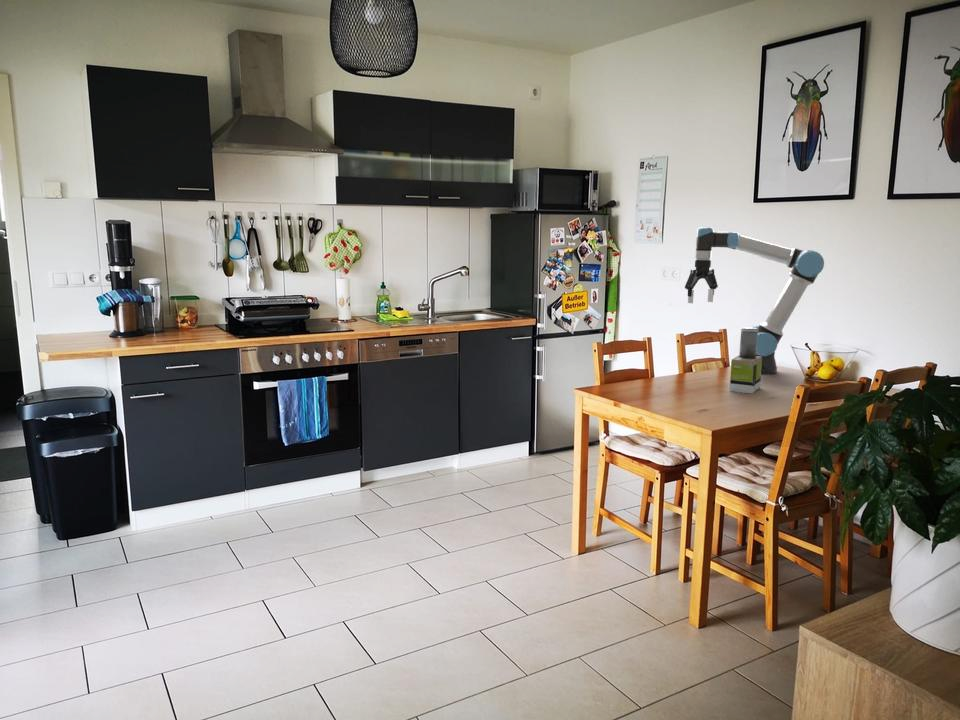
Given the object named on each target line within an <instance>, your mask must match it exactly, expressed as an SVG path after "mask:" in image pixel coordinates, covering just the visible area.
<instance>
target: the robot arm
mask: <svg viewBox="0 0 960 720" xmlns="http://www.w3.org/2000/svg"><path fill="white" fill-rule="evenodd" d="M696 231H697V232H696V237H695V238H696V240H695V241H696V243H695V244H696V245H695V261H694V267H695V269H693V268H692V269H690V271H689V272H690V273H689V276H688V277H687V281H686V283H685V284H684V289H686V290H687V303H688V304H694V296H695V295H694V292H695V290H694V288H695V286H696V285H697V283H698V282H699V280H701V279H704V281H705V282H706V283H707V285H708V289H707V302H708V303H713V302H714V295H715V290H716V289H717V288H718V287H719V285H718V282H717V278H716V275H715V269H713V268H711V266H712V260H711V259H712V253H713V250H712V249H713V248H722V249H724V248H727V249H731V250H735V251H737V252H738V251H739V252H742V253H746V254H749V255H752V256H756V257H759V258H762V259H766V260H768V261H774V262H777V263H780V264H784V265H786V267H787V268H790V270H789V273H788V274H789V276H790V278H789V280H788V281H787V283H786V285H785V287H784V288H783V290H782V291H781V293H780V295H779V297H778V299H777V300H776V302H775V304H774V305H773V308H772V309H771V311H770V312H769V315H768V316H767V318H766V320H765V321H764V322H763V323H762V322H761V323H759V325H753V326H752V328H758V338H757V351H756V356H761V357H762V365H761V374H762V373H763V374H765V375H767V374H771V373H772V374H776V373H778V366H777V362H776V358H775V353H776V351H777V348H778V344H779V342H780V341H781V339H782V337H783V336H784V332H783V329H784V327H785V325H786V324H787V322H788V321H789V319H790V317H791V316H792V314H793V312H794V310H795V308H796V307H797V305H798V304H799V302H800V300H801V298H802V296H803V294H804V293H805V292H806V290H807V288H808V287H809V286H810V285H812V284H814V283H815V280H816V279H817V277H818V276H819V274H820V273H821V272H822V271H823V269H824V267H825V260H824V257H823V256H822V254H820V252H817V251H815V250H809V249H808V250H807V249H800V248H796V247H793V248H788V247H784V246H781V245H778V244H774V243H771V242H766V241H762V240H759V239H755V238H752V237H748V236H746V235H745V236H744V235H742V234H741V235H740V234H739V232H737V231H736V232H735V231H714V228H713V227H699V228H697V230H696Z"/></svg>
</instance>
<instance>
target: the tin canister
mask: <svg viewBox="0 0 960 720" xmlns="http://www.w3.org/2000/svg"><path fill="white" fill-rule="evenodd" d="M752 327H753V326H752ZM752 327H750V326H749V327H745V326H743V327H741V328H740V342H739V355H738V356H739V357H740V358H746V359H755V358H756V351H757V338H758V328H752Z"/></svg>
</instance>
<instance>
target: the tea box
mask: <svg viewBox="0 0 960 720" xmlns="http://www.w3.org/2000/svg"><path fill="white" fill-rule="evenodd" d="M730 363H731V364H730V381H729V391H730V392H733V391H735V393H741V392H742V393H744V394H749V393H750V394H754V393H755V392H756V391H757V390H759V389H760V388H761V380H762V373H761V365H762V357H761V356H756V358H755V359H746V358H740V357H739V355H737V356H736V357H734V358H732V359H731V362H730Z"/></svg>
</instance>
